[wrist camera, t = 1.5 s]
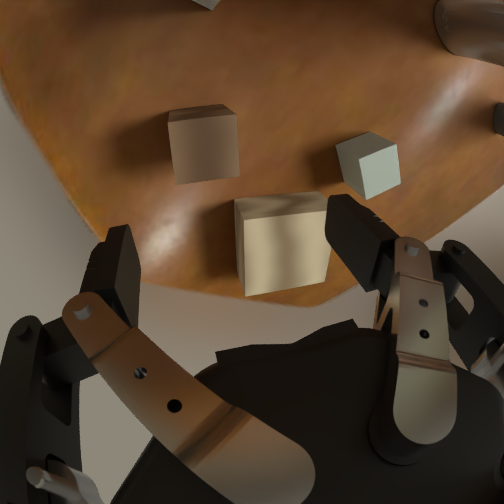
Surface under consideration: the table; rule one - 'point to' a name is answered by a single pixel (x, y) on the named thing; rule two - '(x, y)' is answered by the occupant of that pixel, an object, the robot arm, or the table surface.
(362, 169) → the grey cube
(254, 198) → the oak block
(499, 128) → the candle holder
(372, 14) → the table surface
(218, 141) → the walnut block
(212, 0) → the small box
